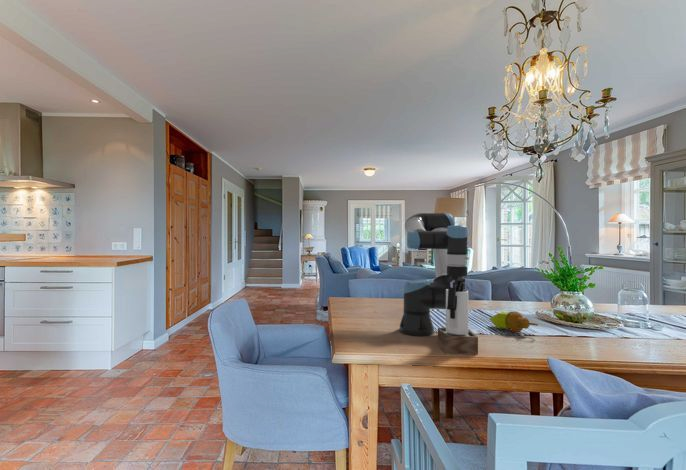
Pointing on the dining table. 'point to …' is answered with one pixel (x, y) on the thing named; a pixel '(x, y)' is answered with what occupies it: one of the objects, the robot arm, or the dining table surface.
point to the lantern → (511, 321)
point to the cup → (459, 314)
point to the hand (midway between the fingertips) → (456, 324)
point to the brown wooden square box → (458, 342)
